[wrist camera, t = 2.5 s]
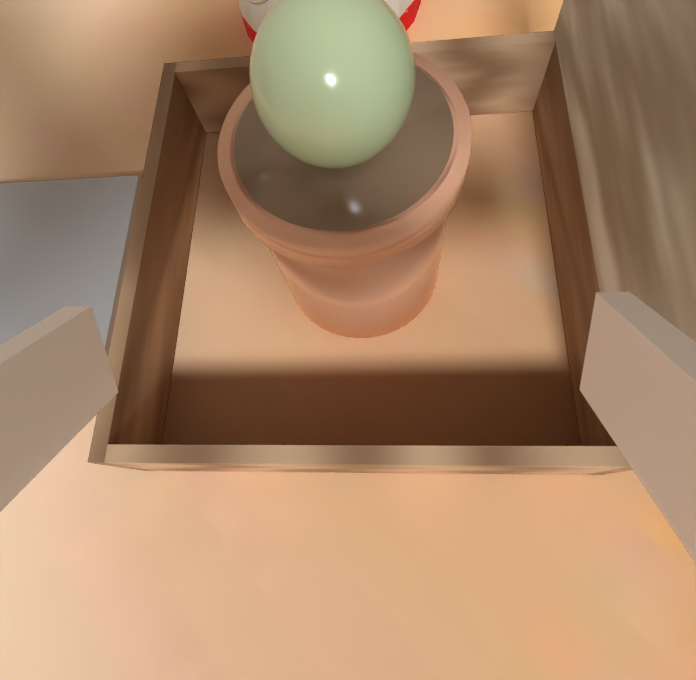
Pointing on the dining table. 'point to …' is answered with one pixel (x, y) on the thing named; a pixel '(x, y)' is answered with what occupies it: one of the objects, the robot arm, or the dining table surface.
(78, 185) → the slate tile
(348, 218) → the seedling pot
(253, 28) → the kitchen timer
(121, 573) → the dining table surface
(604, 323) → the robot arm
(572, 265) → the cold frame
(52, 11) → the dining table surface
